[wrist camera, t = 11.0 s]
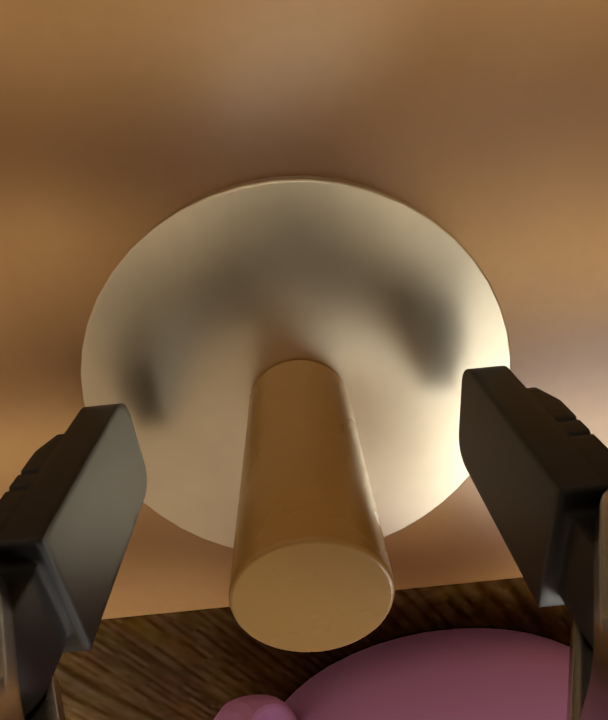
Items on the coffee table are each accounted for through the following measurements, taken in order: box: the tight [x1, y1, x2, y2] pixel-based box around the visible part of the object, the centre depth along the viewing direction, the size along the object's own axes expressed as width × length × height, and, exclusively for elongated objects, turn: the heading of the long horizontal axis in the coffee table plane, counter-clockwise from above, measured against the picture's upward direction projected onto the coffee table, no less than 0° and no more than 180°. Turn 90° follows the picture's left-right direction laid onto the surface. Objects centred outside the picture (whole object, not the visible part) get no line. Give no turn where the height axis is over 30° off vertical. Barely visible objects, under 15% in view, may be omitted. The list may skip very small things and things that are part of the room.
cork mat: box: [0, 0, 608, 620], centre depth 12 cm, size 16×20×1 cm
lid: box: [81, 175, 511, 652], centre depth 9 cm, size 9×9×6 cm
